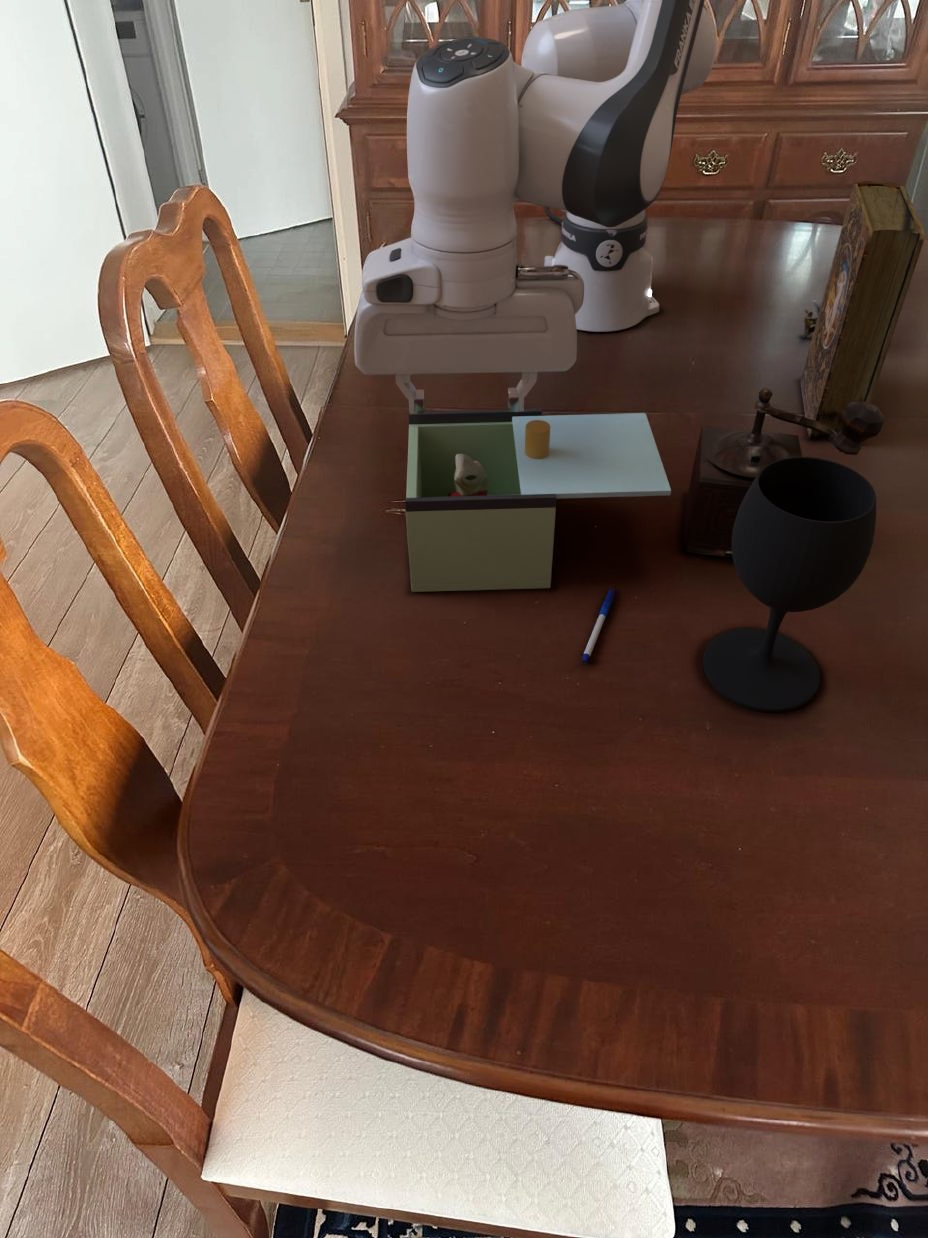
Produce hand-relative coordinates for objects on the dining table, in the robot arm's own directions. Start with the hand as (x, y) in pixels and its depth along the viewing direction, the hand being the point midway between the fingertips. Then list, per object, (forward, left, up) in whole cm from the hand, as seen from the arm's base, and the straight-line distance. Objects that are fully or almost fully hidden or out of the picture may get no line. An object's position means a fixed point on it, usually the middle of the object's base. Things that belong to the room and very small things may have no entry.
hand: (466, 409), depth 86 cm
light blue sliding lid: (+1, +12, -5) cm, 13 cm away
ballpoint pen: (+15, +12, -15) cm, 25 cm away
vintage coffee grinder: (+1, +31, -16) cm, 35 cm away
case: (+1, +1, -15) cm, 15 cm away
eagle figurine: (-42, +53, -16) cm, 69 cm away
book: (-24, +46, -16) cm, 55 cm away
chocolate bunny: (+1, 0, -15) cm, 15 cm away
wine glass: (+21, +26, -16) cm, 37 cm away
